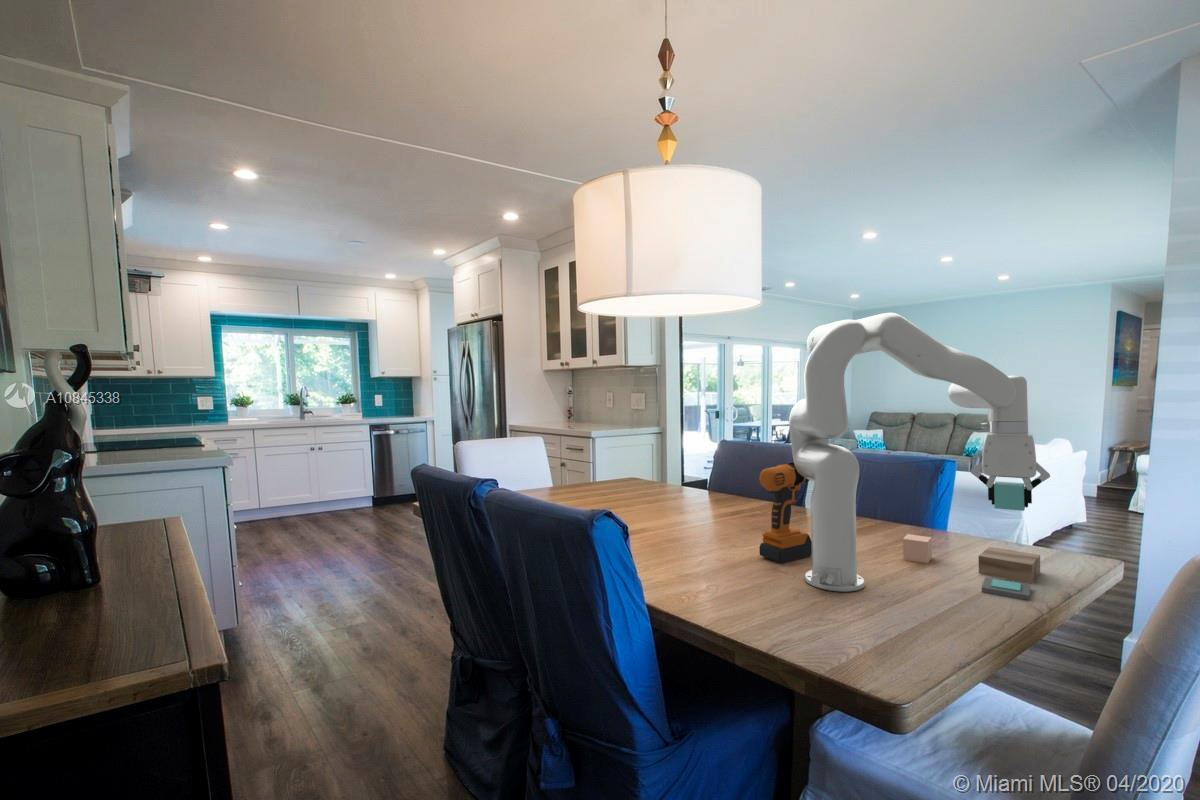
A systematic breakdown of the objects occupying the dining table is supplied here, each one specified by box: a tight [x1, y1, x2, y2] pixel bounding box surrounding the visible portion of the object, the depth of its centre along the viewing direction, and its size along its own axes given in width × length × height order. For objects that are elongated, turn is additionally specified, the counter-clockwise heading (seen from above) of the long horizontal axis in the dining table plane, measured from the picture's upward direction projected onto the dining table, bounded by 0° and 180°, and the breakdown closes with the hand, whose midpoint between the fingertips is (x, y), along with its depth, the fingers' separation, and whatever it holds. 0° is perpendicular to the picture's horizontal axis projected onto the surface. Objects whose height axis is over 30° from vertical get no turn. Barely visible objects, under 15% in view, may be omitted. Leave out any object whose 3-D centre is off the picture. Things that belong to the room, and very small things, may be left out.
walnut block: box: [978, 546, 1041, 584], centre depth 129 cm, size 10×10×4 cm
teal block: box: [994, 480, 1026, 512], centre depth 129 cm, size 6×6×6 cm
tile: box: [981, 576, 1031, 601], centre depth 118 cm, size 8×8×1 cm
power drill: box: [758, 461, 812, 564], centre depth 146 cm, size 22×7×25 cm, turn 122°
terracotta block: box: [902, 533, 933, 564], centre depth 141 cm, size 6×6×6 cm
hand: (1009, 504), depth 129 cm, fingers closed on teal block, 5 cm apart
